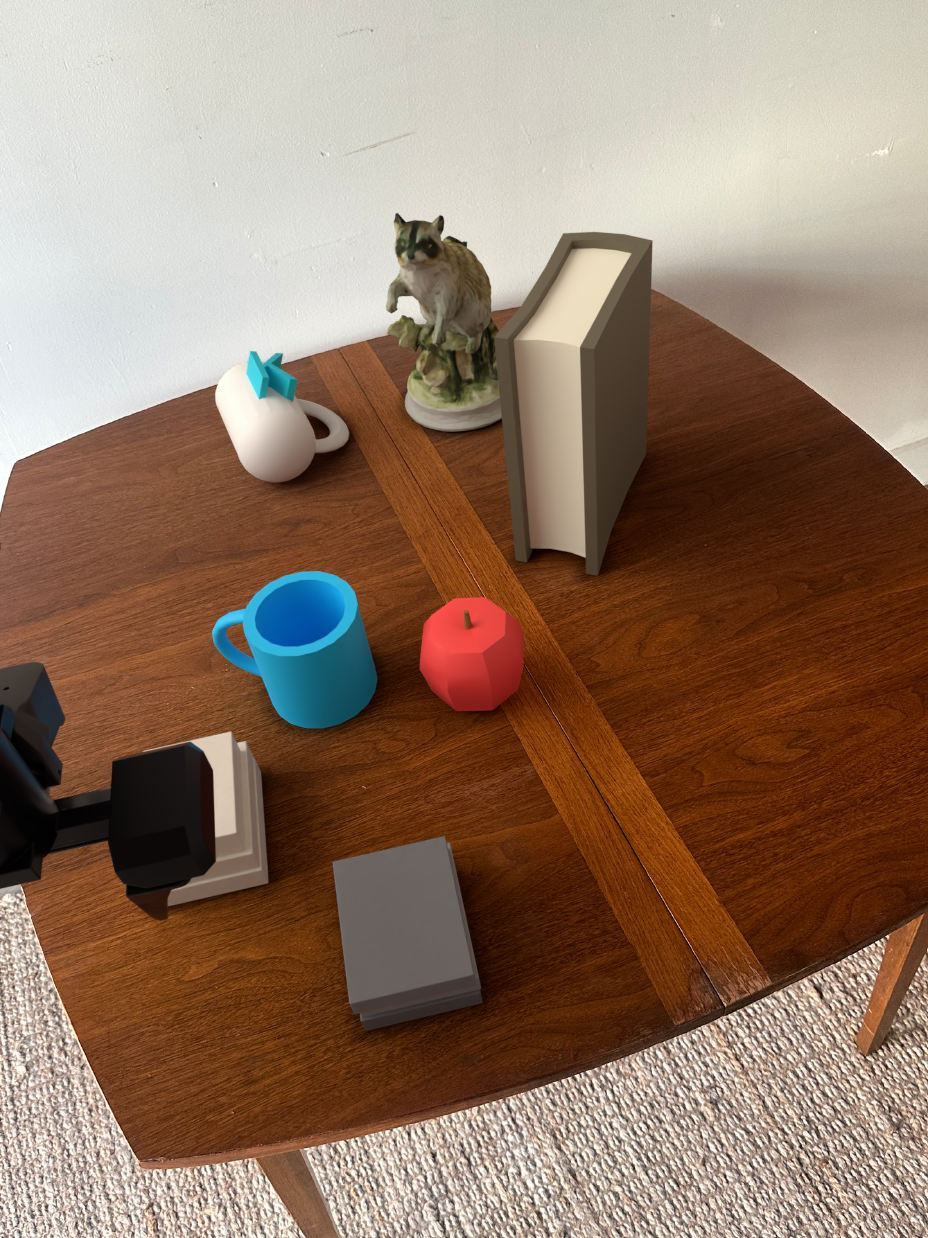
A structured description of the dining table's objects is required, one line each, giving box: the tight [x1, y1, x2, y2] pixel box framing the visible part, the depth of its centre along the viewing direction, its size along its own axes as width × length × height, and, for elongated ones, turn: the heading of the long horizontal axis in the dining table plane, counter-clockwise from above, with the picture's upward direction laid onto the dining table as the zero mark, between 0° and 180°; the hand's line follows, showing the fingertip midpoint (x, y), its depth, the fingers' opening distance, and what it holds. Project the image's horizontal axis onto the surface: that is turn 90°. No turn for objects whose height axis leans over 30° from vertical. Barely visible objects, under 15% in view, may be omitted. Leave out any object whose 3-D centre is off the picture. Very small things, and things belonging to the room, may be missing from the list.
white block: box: [142, 731, 246, 857], centre depth 66 cm, size 8×6×2 cm
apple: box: [419, 596, 525, 712], centre depth 73 cm, size 8×8×8 cm
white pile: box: [168, 740, 269, 907], centre depth 68 cm, size 9×7×4 cm
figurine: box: [385, 212, 502, 433], centre depth 93 cm, size 12×14×20 cm
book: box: [494, 231, 654, 577], centre depth 80 cm, size 16×7×21 cm, turn 159°
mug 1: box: [214, 350, 350, 483], centre depth 95 cm, size 12×9×12 cm
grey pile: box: [332, 835, 484, 1032], centre depth 61 cm, size 9×7×4 cm
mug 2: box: [211, 570, 378, 729], centre depth 75 cm, size 12×8×8 cm
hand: (75, 932), depth 52 cm, fingers open, 9 cm apart
